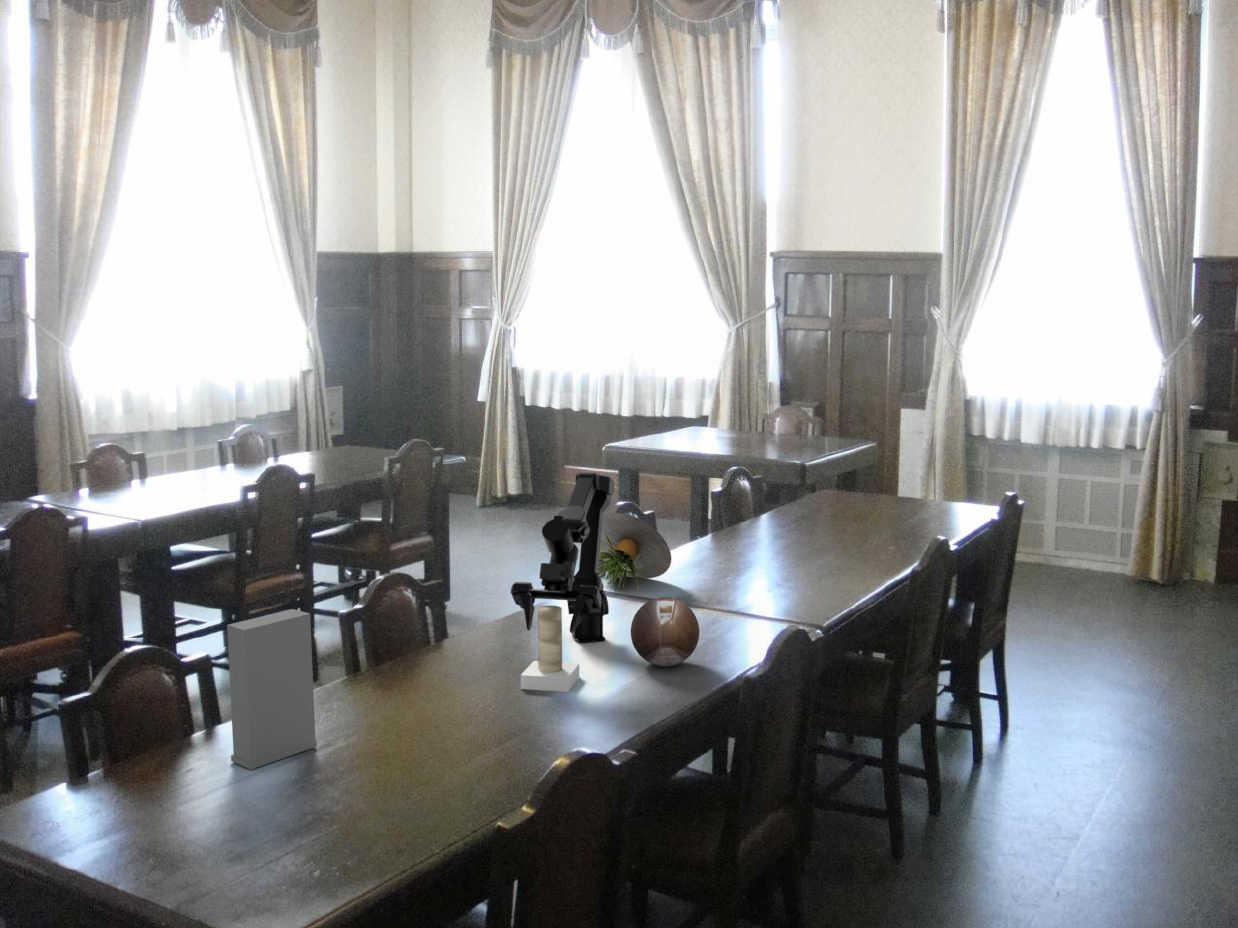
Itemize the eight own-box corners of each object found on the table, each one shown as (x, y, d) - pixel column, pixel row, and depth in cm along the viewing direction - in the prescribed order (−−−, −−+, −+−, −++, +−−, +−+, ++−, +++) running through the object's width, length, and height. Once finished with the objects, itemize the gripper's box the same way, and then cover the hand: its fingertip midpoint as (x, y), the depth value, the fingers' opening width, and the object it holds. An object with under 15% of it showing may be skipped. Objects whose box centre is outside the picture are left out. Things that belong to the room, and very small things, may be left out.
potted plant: (578, 603, 352) (554, 551, 335) (606, 555, 361) (583, 502, 344) (656, 625, 341) (634, 572, 323) (682, 575, 350) (663, 521, 332)
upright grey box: (296, 740, 228) (290, 607, 225) (316, 747, 224) (311, 613, 221) (230, 762, 218) (223, 624, 214) (250, 771, 214) (243, 630, 210)
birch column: (549, 663, 263) (548, 604, 261) (567, 668, 260) (566, 608, 258) (533, 669, 259) (532, 609, 257) (551, 674, 256) (550, 613, 254)
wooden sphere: (641, 678, 263) (641, 609, 261) (622, 657, 277) (622, 592, 275) (708, 672, 267) (709, 604, 265) (686, 652, 281) (686, 587, 279)
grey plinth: (534, 674, 266) (533, 660, 265) (579, 677, 264) (579, 663, 263) (520, 688, 256) (520, 674, 256) (567, 692, 254) (567, 677, 254)
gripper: (512, 544, 263) (497, 609, 254) (598, 548, 259) (586, 613, 250) (523, 572, 271) (509, 635, 262) (606, 576, 268) (595, 640, 259)
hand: (549, 630), depth 258 cm, fingers open, 9 cm apart
